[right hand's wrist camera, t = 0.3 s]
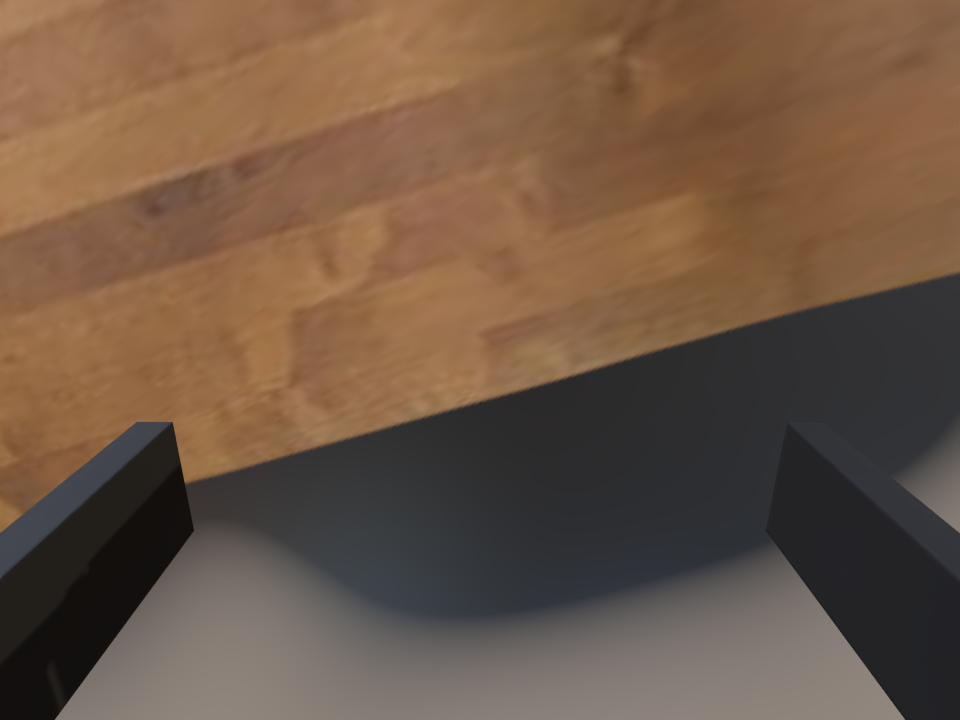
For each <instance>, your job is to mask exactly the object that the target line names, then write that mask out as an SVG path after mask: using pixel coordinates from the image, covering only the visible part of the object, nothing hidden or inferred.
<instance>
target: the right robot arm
mask: <svg viewBox="0 0 960 720" xmlns="http://www.w3.org/2000/svg"><path fill="white" fill-rule="evenodd" d="M193 531H194V528H193V523H192V518H191V513H190V508H189V503H188V498H187V493H186V488H185V483H184V478H183V473H182V467H181V462H180V457H179V452H178V447H177V442H176V437H175V432H174V427H173V422H136V423H135V424H134V425H133V426H131V427H130V428H129V429H128V430H126V431H125V432H124V433H123V434H122V435H120V436H119V437H118V438H117V439H115V440H114V441H113V442H112V443H111V444H109V445H108V446H107V447H106V448H104V449H103V450H102V451H101V452H99V453H98V454H97V455H96V456H95V457H93V458H92V459H91V460H90V461H88V462H87V463H86V464H85V465H84V466H82V467H81V468H80V469H79V470H77V471H76V472H75V473H74V474H72V475H71V476H70V477H69V478H68V479H66V480H65V481H64V482H63V483H61V484H60V485H59V486H58V487H57V488H55V489H54V490H53V491H52V492H50V493H49V494H48V495H47V496H45V497H44V498H43V499H42V500H41V501H39V502H38V503H37V504H36V505H34V506H33V507H32V508H31V509H30V510H28V511H27V512H26V513H25V514H23V515H22V516H21V517H20V518H18V519H17V520H16V521H15V522H14V523H12V524H11V525H10V526H9V527H7V528H6V529H5V530H4V531H3V532H1V533H0V720H55V719H56V717H57V716H58V715H59V713H60V712H61V710H62V709H63V708H64V706H65V705H66V704H67V702H68V701H69V700H70V698H71V697H72V695H73V694H74V693H75V691H76V690H77V689H78V687H79V686H80V685H81V683H82V682H83V681H84V679H85V678H86V677H87V675H88V674H89V672H90V671H91V670H92V668H93V667H94V666H95V664H96V663H97V662H98V660H99V659H100V658H101V656H102V655H103V653H104V652H105V651H106V649H107V648H108V647H109V645H110V644H111V643H112V641H113V640H114V639H115V637H116V636H117V634H118V633H119V632H120V630H121V629H122V628H123V626H124V625H125V624H126V622H127V621H128V620H129V618H130V617H131V615H132V614H133V613H134V611H135V610H136V609H137V607H138V606H139V605H140V603H141V602H142V601H143V599H144V598H145V596H146V595H147V594H148V592H149V591H150V590H151V588H152V587H153V586H154V584H155V583H156V581H157V580H158V579H159V577H160V576H161V575H162V573H163V572H164V571H165V569H166V568H167V567H168V565H169V564H170V563H171V561H172V560H173V558H174V557H175V556H176V554H177V553H178V552H179V550H180V549H181V548H182V546H183V545H184V543H185V542H186V541H187V539H188V538H189V537H190V535H191V534H192V533H193ZM766 531H767V533H768V534H769V535H770V537H771V538H772V539H773V541H774V542H775V544H776V545H777V546H778V548H779V549H780V550H781V552H782V553H783V554H784V556H785V557H786V558H787V560H788V561H789V563H790V564H791V565H792V567H793V568H794V569H795V571H796V572H797V573H798V575H799V576H800V577H801V579H802V580H803V582H804V583H805V584H806V586H807V587H808V588H809V590H810V591H811V592H812V594H813V595H814V596H815V598H816V599H817V601H818V602H819V603H820V605H821V606H822V607H823V609H824V610H825V611H826V613H827V614H828V615H829V617H830V618H831V619H832V621H833V622H834V623H835V625H836V626H837V628H838V629H839V630H840V632H841V633H842V634H843V636H844V637H845V639H846V640H847V641H848V643H849V644H850V645H851V647H852V648H853V649H854V651H855V652H856V653H857V655H858V656H859V658H860V659H861V660H862V662H863V663H864V664H865V666H866V667H867V668H868V670H869V671H870V672H871V674H872V675H873V677H874V678H875V679H876V681H877V682H878V683H879V685H880V686H881V687H882V689H883V690H884V691H885V693H886V694H887V696H888V697H889V698H890V700H891V701H892V702H893V704H894V705H895V706H896V708H897V709H898V710H899V712H900V713H901V715H902V716H903V717H904V719H905V720H960V533H959V532H957V531H956V530H955V529H954V528H952V527H951V526H950V525H949V524H948V523H946V522H945V521H944V520H943V519H941V518H940V517H939V516H938V515H937V514H935V513H934V512H933V511H932V510H930V509H929V508H928V507H927V506H926V505H924V504H923V503H922V502H921V501H919V500H918V499H917V498H916V497H915V496H913V495H912V494H911V493H910V492H908V491H907V490H906V489H905V488H903V487H902V486H901V485H900V484H899V483H897V482H896V481H895V480H894V479H892V478H891V477H890V476H889V475H888V474H886V473H885V472H884V471H883V470H881V469H880V468H879V467H878V466H876V465H875V464H874V463H873V462H871V461H870V460H869V459H868V458H867V457H865V456H864V455H863V454H862V453H861V452H859V451H858V450H857V449H856V448H854V447H853V446H852V445H851V444H849V443H848V442H847V441H846V440H845V439H843V438H842V437H841V436H840V435H838V434H837V433H836V432H835V431H833V430H832V429H831V428H830V427H829V426H827V425H826V424H825V423H824V422H787V427H786V432H785V437H784V442H783V447H782V452H781V458H780V462H779V467H778V473H777V478H776V483H775V488H774V493H773V498H772V503H771V508H770V513H769V518H768V523H767V528H766Z"/></svg>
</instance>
